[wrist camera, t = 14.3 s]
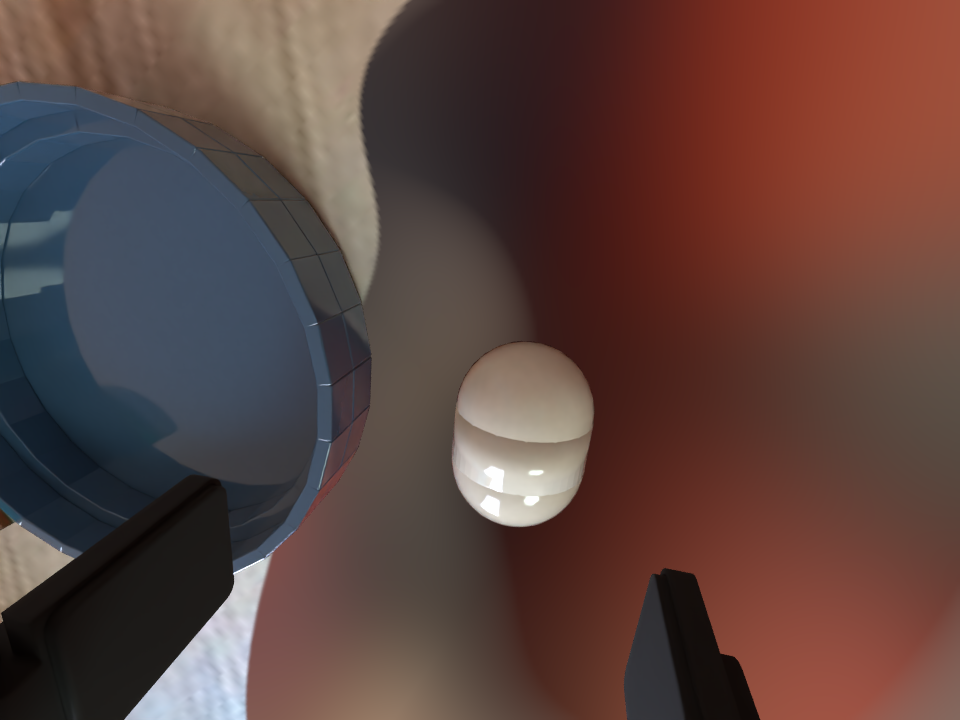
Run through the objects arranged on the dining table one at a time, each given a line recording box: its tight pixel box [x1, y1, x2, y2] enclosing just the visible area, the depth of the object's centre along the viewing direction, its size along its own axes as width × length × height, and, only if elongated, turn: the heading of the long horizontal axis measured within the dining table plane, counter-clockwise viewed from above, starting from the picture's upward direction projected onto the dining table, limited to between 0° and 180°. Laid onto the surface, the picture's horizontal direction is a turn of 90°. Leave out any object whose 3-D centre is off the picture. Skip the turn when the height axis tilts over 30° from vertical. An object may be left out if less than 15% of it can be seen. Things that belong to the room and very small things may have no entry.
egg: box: [452, 341, 594, 527], centre depth 18 cm, size 7×5×5 cm
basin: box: [0, 81, 371, 574], centre depth 21 cm, size 20×20×4 cm
